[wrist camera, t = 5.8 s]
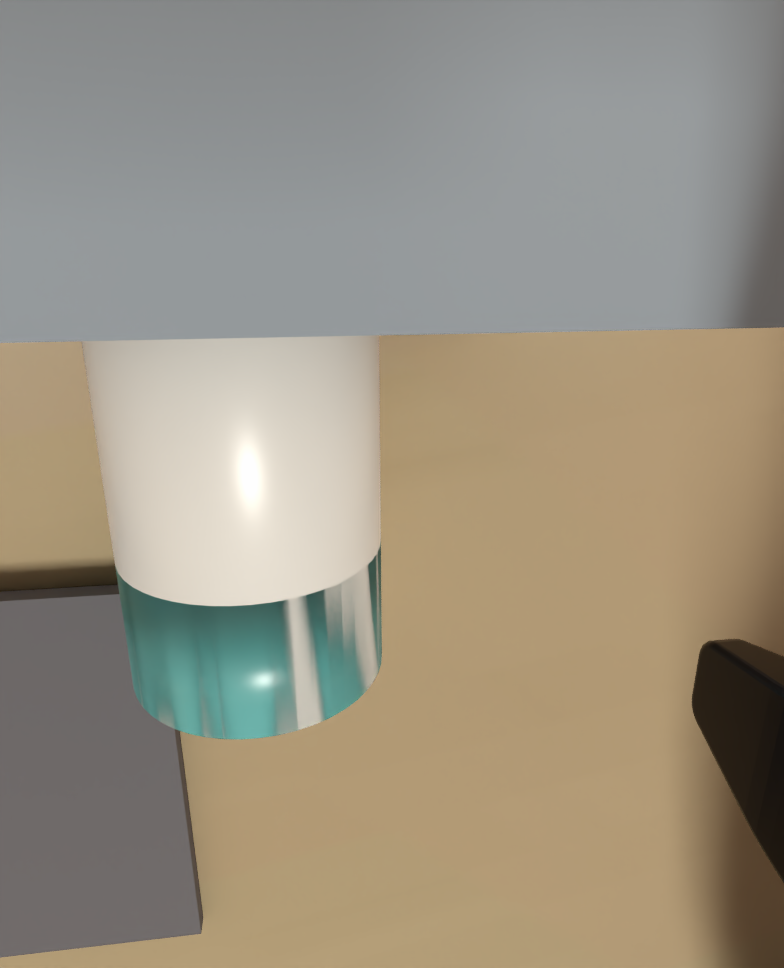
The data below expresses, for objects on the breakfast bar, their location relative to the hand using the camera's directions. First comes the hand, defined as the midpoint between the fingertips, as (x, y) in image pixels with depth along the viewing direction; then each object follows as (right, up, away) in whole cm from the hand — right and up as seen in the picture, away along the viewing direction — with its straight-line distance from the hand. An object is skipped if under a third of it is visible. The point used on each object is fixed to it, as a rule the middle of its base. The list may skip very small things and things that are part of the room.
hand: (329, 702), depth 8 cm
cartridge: (-1, +5, +4) cm, 7 cm away
